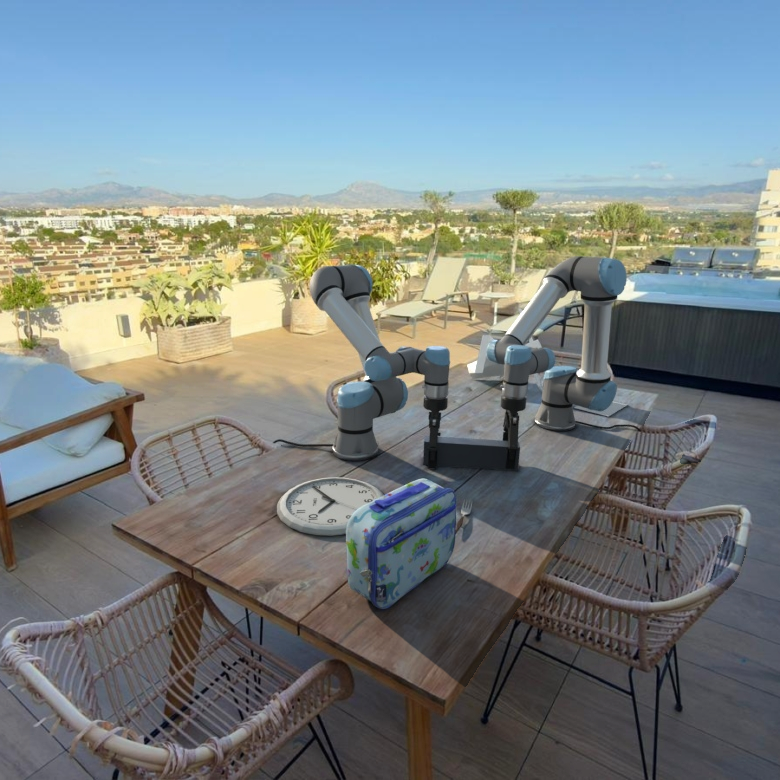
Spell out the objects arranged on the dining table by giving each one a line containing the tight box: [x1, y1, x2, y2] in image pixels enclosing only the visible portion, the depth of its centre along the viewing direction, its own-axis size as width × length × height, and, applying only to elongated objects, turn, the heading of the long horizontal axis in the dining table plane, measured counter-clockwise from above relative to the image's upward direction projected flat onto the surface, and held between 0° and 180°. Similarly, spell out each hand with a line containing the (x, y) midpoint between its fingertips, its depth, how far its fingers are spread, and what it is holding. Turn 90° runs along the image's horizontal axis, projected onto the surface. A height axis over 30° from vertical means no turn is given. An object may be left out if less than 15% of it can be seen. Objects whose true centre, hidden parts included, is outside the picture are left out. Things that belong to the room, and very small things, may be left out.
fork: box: [455, 498, 473, 536], centre depth 136 cm, size 3×16×2 cm, turn 160°
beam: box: [422, 435, 521, 472], centre depth 168 cm, size 30×5×8 cm, turn 83°
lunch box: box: [345, 477, 457, 610], centre depth 110 cm, size 26×11×21 cm, turn 134°
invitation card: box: [573, 400, 628, 418], centre depth 226 cm, size 21×1×15 cm
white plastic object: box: [467, 307, 543, 392], centre depth 256 cm, size 37×45×31 cm
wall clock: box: [276, 476, 385, 537], centre depth 143 cm, size 30×2×30 cm
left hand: (432, 461), depth 170 cm, fingers open, 9 cm apart
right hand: (507, 459), depth 167 cm, fingers open, 13 cm apart
